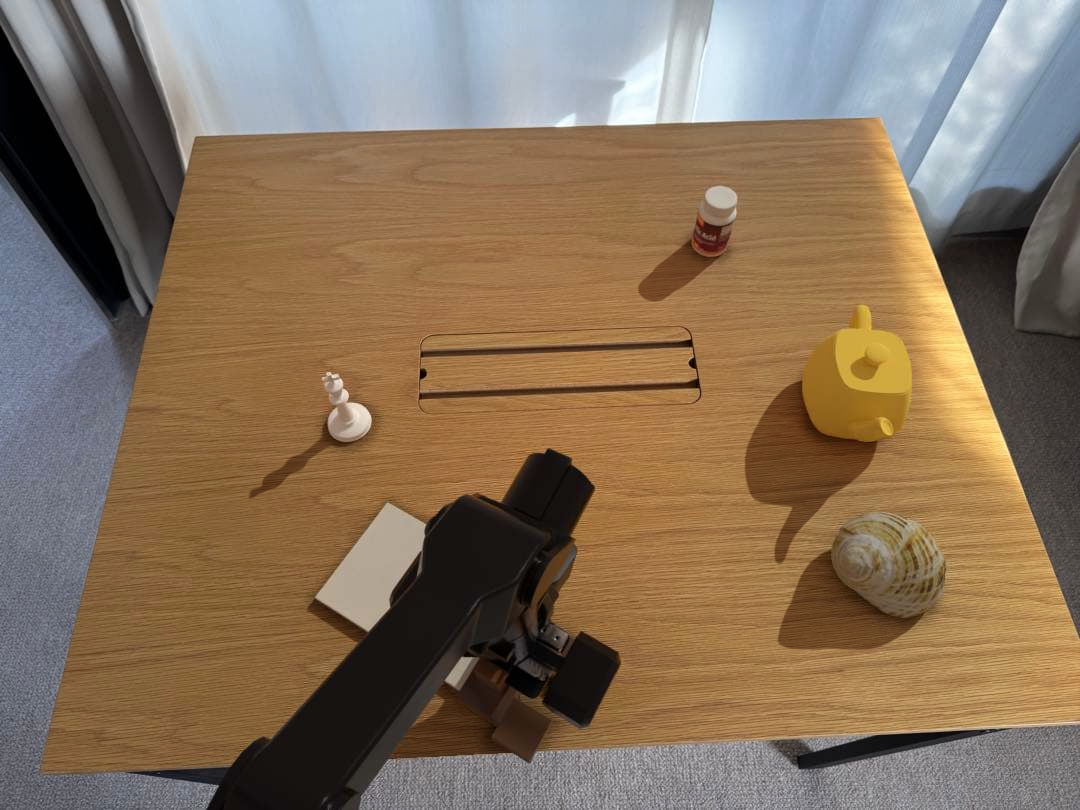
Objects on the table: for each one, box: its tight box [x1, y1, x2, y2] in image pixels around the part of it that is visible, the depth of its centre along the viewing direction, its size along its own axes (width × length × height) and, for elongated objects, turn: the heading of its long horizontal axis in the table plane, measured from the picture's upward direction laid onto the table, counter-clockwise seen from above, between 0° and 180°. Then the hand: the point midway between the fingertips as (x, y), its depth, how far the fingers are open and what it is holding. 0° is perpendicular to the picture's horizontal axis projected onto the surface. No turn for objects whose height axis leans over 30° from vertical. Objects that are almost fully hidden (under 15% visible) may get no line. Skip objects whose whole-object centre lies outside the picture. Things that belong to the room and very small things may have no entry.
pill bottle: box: [691, 185, 738, 258], centre depth 98 cm, size 5×5×8 cm
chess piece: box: [321, 371, 373, 443], centre depth 83 cm, size 5×5×10 cm
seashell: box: [830, 511, 947, 619], centre depth 75 cm, size 10×10×10 cm
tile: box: [314, 501, 479, 692], centre depth 76 cm, size 12×18×1 cm, turn 59°
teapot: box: [801, 304, 913, 443], centre depth 83 cm, size 18×11×11 cm, turn 174°
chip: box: [491, 697, 553, 765], centre depth 69 cm, size 4×4×2 cm
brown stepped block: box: [455, 619, 557, 728], centre depth 68 cm, size 10×4×7 cm, turn 149°
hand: (507, 658), depth 69 cm, fingers closed on brown stepped block, 2 cm apart
